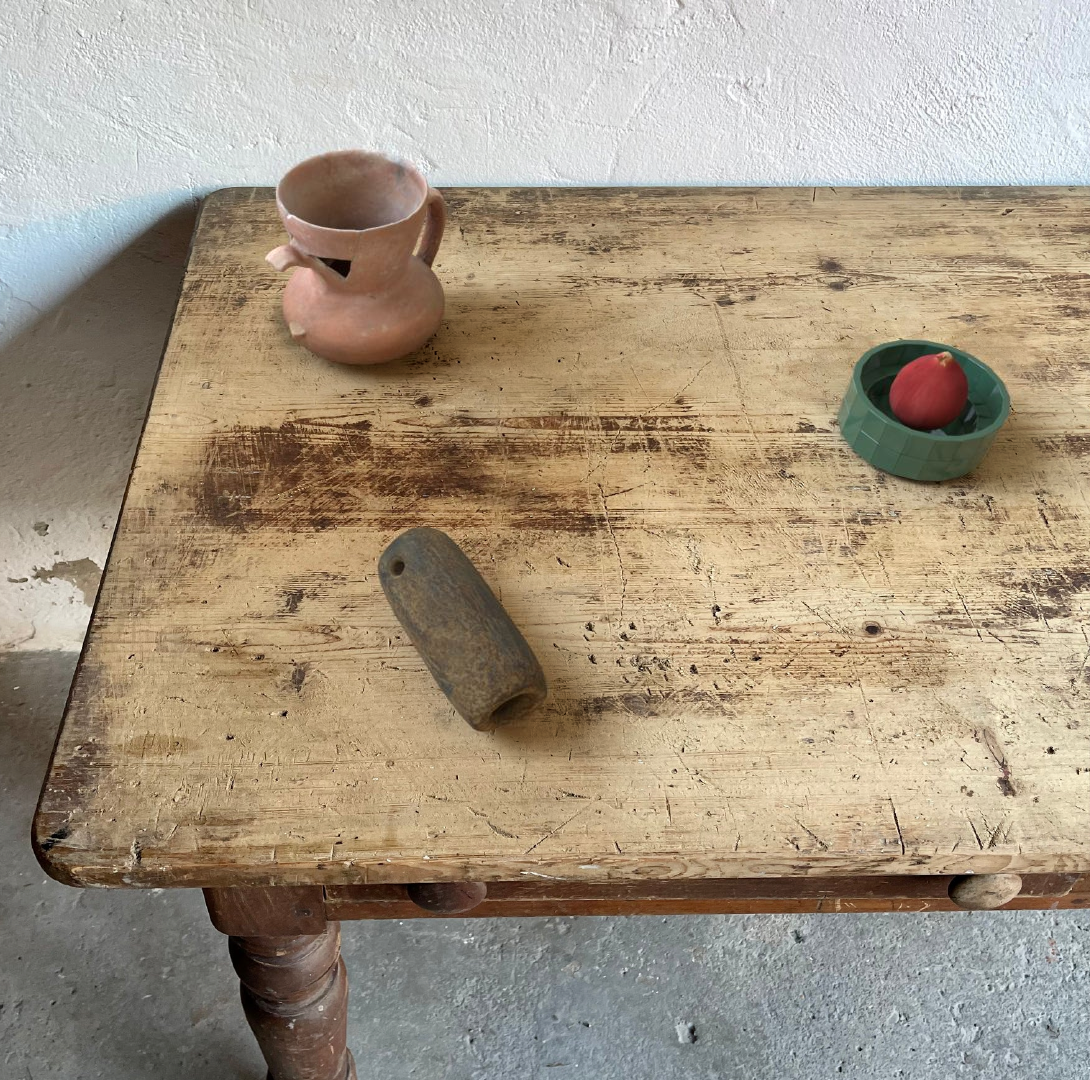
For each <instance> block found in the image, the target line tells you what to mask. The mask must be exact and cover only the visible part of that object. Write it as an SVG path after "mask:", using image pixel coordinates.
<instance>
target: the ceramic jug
mask: <svg viewBox="0 0 1090 1080" xmlns="http://www.w3.org/2000/svg"><path fill="white" fill-rule="evenodd" d="M275 198H276V204H277V205H276V206H277V209H278V213H279V215H280V218H281V220H282V223H283V225H284V227H285V230H286V233H287V234H288V236H289V244H285V245H280V246H277V247H275V248H274V249H272V250H271V251H270V252H268V254H266V255H265V258H264V259H265V262H266V263H267V264H268V265H269V266H270V268H271V269H272V270H274V271H276V272H280V273H285V272H286V271H287V270H288V269H290V268H293V267H297V269H295V271H294V272H293V273H292V274H291V276H290V278H289V279H288V281H287V284H286V286H285V288H284V291H283V295H282V300H281V301H282V302H281V304H282V307H281V308H282V314H283V317H284V320H285V323H286V326H287V327H288V329H289V330H290V334H291V337H292V339H293V341H294V342H295V343H297V344H298V345H299V346H301V347H303V348H304V349H305V350H307V351H308V352H311V353H312V354H314V355H316V356H318V357H321V358H323V359H326V360H328V361H332V362H337V363H341V364H347V365H348V364H349V365H375V364H382V363H385V362H390V361H393V360H396V359H399V358H401V357H404V356H407V355H408V354H411V353H412V352H414V351H416V350H417V349H419V348H420V347H422V346H423V345H424V344H426V342H427V341H429V340H430V338H431V337H432V336H433V335H434V334H435V333H436V331H437V330H438V328H439V326H440V324H441V322H442V320H443V317H444V313H445V309H446V298H445V297H446V296H445V292H444V291H445V290H444V289H443V286H442V284H441V281H440V279H439V277H438V276H437V275H436V272H434V270H433V269H432V267H433V266H432V265H433V264H434V261H435V258H436V257H437V254H438V252H439V250H440V246H441V243H442V240H443V237H444V232H445V230H446V229H445V228H446V222H447V206H446V202H445V199H444V197H443V195H442V194H441V192H440V191H439V190H438V189H437V188H435V187H432V186H429V183H428V180H427V178H426V176H425V174H424V173H423V172H422V171H420V169H419V167H418V166H417V165H416V164H414V163H413V162H412V161H410V160H409V159H407V158H405V157H403V156H400V155H397V154H393V153H391V152H387V151H384V150H380V149H371V148H370V149H367V148H366V149H365V148H350V149H347V148H346V149H341V150H331V151H326V152H325V151H324V152H323V153H320V154H316V155H312V156H310V157H307V158H306V159H304V160H302V161H299V162H297V163H295V164H294V165H293V166H292V167H291V168H290V169H288V170H287V171H286V172H285V173H284V174H282V176H281V178H280V179H279V181H278V183H277V185H276V190H275ZM423 227H424V228H423ZM422 230H423V234H422V235H421V232H422ZM420 235H421V241H420V244H419V248H418V250H417V252H416V255H414V254H413V253H414V251H415V248H416V246H417V243H418V240H419V237H420Z"/></svg>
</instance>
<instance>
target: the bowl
mask: <svg viewBox="0 0 1090 1080" xmlns="http://www.w3.org/2000/svg"><path fill="white" fill-rule="evenodd" d="M942 352H949V353H950V354H951V355H952V356H953V359H954V360H956V361H957V362H958V363H959V364H960V365H961V367H962V369H963V371H964V373H965V374H966V376H967V380H968V398H967V401H966V404H965V407H964V408H963V410H962V411H961V413H960V415H959V416H958V417H957V418H956V419H955V420H954V422H952V423H950V424H948V425H947V426H945V427H942V428H940V429H937V430H930V431H916V430H912V429H910V428H908V427H906V426H904V425H903V424H902V423H901V422H900V421H899V420H898V419H897V418H896V416H895V415H894V413H893V412H892V410H891V406H890V398H889V394H890V389H891V386H892V384H893V382H894V380H895V379H896V377H897V375H898V373H899V372H900V371H901V370H902V368H903V367H905V366H906V365H907V364H909V363H911V362H912V361H914V360H916V359H918V358H920V357H923V356H927V355H932V354H940V353H942ZM1005 384H1006V383H1005V382H1004V381H1003V380H1002V378H1001V377H999V375H998V374H997V373H996V372H995V371H994V370H993V369H992V367H990V366H989V365H988V364H986V363H985V362H984V361H982V360H980V359H978V358H977V357H976V356H974V355H972V354H970V353H968V352H966V351H963V350H961V349H959V348H956V347H954V346H952V345H949V344H945V343H940V342H935V341H931V340H926V339H898V340H893V341H888V342H883V343H880V344H878V345H876V346H874V347H872V348H870V349H868V350H866V351H865V352H864V353H863V355H861V357H860V358H859V359H858V360H857V361H856V362H855V364H854V366H853V370H852V371H851V375H850V377H849V380H848V382H847V386H846V388H845V391H844V393H843V396H842V399H841V401H840V403H839V408H838V414H837V416H836V417H837V422H838V426H839V430H840V434H841V436H842V437H843V439H844V441H846V443H847V444H848V446H849V447H850V448H851V450H852V451H854V452H855V453H856V454H857V455H859V456H860V457H861V458H862V459H864V460H865V461H866V462H867V463H869V464H870V465H873V466H875V467H877V468H879V469H880V470H884V471H885V472H887V473H889V474H892V475H895V476H899V477H903V478H906V479H911V480H915V481H929V482H930V481H931V482H943V481H947V480H951V479H956V478H961V477H964V476H965V475H967V474H969V473H970V472H972V471H973V470H975V469H977V468H978V467H979V466H980V465H981V463H982V462H983V460H984V459H985V458H986V456H987V455H988V453H989V452H990V449H991V448H992V446H993V445H994V443H995V441H996V439H997V437H998V435H999V434H1000V432H1001V430H1002V428H1003V426H1004V425H1005V423H1006V422H1007V420H1008V418H1009V416H1010V409H1011V397H1010V394H1009V391H1008V389H1007V387H1006V385H1005Z"/></svg>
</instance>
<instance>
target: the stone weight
mask: <svg viewBox="0 0 1090 1080" xmlns="http://www.w3.org/2000/svg"><path fill="white" fill-rule="evenodd" d="M379 557H380V558H379V559H378V563H377V574H378V578H379V583H380V586H381V588H382V591H383V594H384V596H385V599H386V600H387V602H388V604H389V606H390V608H391V611H392V613H393V614H394V616H395V618H396V619H397V621H398V622H399V625H400V626H401V628H402V630H403V631H404V632H405V634H406V636H407V638H408V639H409V641H410V643H411V644H412V645H413V647H414V649H415V650H416V652H417V653H418V655H419V656H420V658H421V660H422V661H423V663H424V664H425V666H426V667H427V669H428V671H429V673H430V674H431V676H432V678H433V679H434V681H435V682H436V685H438V688H439V689H440V691H441V692H442V694H443V695H444V696H445V697H446V698H447V701H448V702H449V703H450V704H451V705H452V707H453V709H454V710H456V711H457V713H458V714H459V716H460V717H461V718H462V719H463V720H464V721H465V722H466V724H468V725H469V726H470V727H471V728H472V729H473V730H474V731H477V732H480V733H481V732H482V733H488V732H492V731H494V730H497V729H500V728H502V727H504V726H507V725H510V724H512V723H513V722H515V721H519V720H523V719H525V718H527V717H529V716H531V715H533V714H534V713H535V712H536V711H538V710H539V709H540V708H542V706H543V704H544V702H545V701H546V698H547V696H548V683H547V677H546V675H545V673H544V670H543V668H542V666H541V664H540V662H539V659H538V658H537V656H536V654H535V652H534V650H533V649H532V648H531V646H530V644H529V642H528V641H527V639H526V638H525V636H524V635H523V634H522V632H521V631H520V629H519V628H518V626H517V625H516V623H515V622H514V621H513V619H512V618H511V616H510V615H509V614H508V612H507V611H506V609H505V607H504V606H503V605H502V602H501V601H499V598H497V596H496V595H495V593H494V591H493V590H492V589H491V587H490V586H489V584H488V583H487V582H486V580H485V579H484V577H483V575H482V574H481V573H480V572H479V570H478V568H477V567H476V566H475V565H474V563H473V562H472V560H471V559H470V558H469V557H468V556H467V555H466V554H465V553H464V550H462V548H461V547H460V546H459V545H458V544H457V543H456V541H454V539H452V537H450V536H449V535H448V534H447V533H446V532H444V531H442V530H440V529H437V528H434V527H430V526H417V527H412V528H410V529H408V530H406V531H404V532H403V533H401V534H399V535H398V536H397V537H395V539H393V540H392V541H391V542H390V544H389V545H388V546H387V547H386V548H385V549H384V551H383V552H382V554H381V556H379Z"/></svg>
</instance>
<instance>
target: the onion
mask: <svg viewBox="0 0 1090 1080" xmlns="http://www.w3.org/2000/svg"><path fill="white" fill-rule="evenodd" d="M889 398H890V406H891V410H892V412H893V413H894V415H895V416H896V418H897V419H898V420H899V421H900V422H901V423H902V424H903V425H904V426H906V427H908V428H910V429H912V430H916V431H930V430H937V429H940V428H942V427H945V426H947V425H948V424H950V423H952V422H954V420H955V419H956V418H957V417H958V416H959V415H960V413H961V411H962V410H963V408H964V407H965V404H966V401H967V398H968V380H967V376H966V374H965V373H964V371H963V369H962V367H961V365H960V364H959V363H958V362H957V361H956V360H954V359H953V356H952V355H951V354H950V353H949V352H942V353H940V354H932V355H927V356H923V357H920V358H918V359H916V360H914V361H912V362H911V363H909V364H907V365H906V366H905V367H903V368H902V370H901V371H900V372H899V373H898V375H897V377H896V379H895V380H894V382H893V384H892V386H891V389H890V394H889Z"/></svg>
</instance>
